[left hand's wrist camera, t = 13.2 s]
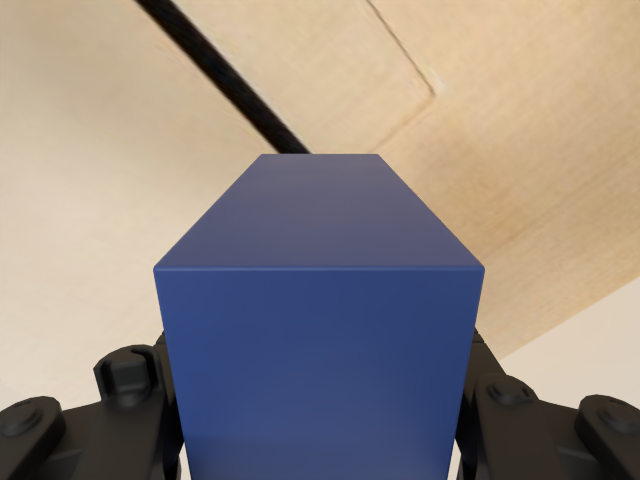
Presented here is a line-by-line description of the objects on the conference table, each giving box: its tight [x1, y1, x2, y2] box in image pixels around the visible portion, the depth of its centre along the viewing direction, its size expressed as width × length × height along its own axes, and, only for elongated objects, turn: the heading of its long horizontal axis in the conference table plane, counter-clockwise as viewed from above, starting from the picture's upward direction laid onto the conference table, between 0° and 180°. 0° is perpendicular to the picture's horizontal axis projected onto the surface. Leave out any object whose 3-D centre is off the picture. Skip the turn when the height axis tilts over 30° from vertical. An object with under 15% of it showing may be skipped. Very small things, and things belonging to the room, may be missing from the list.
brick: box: [153, 154, 485, 480], centre depth 12 cm, size 9×5×11 cm, turn 0°
